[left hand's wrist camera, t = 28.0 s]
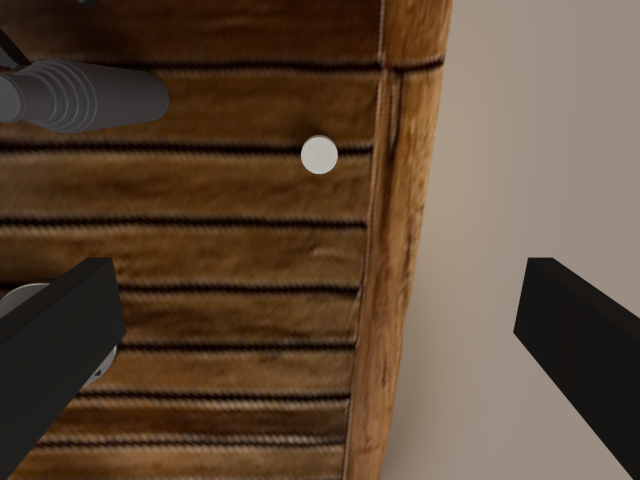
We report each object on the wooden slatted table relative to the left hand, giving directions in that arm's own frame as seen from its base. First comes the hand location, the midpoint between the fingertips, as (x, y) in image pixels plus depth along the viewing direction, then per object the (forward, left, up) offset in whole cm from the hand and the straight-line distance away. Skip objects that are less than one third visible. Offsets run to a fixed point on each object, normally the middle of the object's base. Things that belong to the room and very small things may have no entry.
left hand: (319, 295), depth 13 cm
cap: (0, 0, -31) cm, 31 cm away
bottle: (-18, +7, -33) cm, 38 cm away
